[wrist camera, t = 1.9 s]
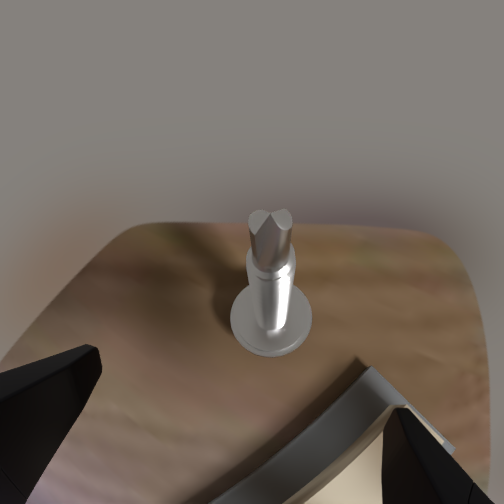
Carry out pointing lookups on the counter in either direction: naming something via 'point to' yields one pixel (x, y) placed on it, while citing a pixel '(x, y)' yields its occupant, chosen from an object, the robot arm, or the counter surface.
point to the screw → (271, 290)
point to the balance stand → (332, 452)
